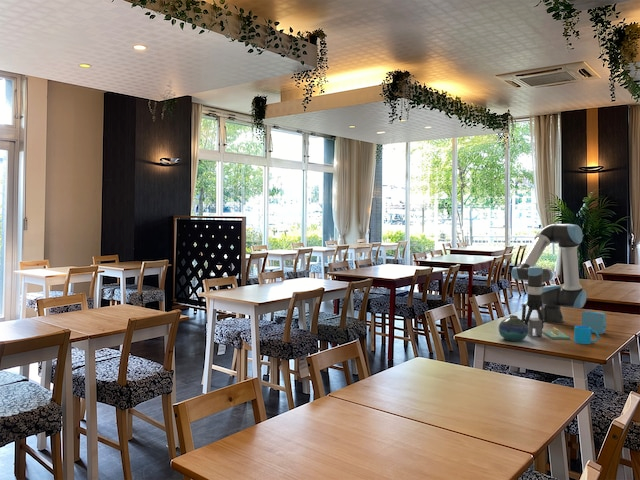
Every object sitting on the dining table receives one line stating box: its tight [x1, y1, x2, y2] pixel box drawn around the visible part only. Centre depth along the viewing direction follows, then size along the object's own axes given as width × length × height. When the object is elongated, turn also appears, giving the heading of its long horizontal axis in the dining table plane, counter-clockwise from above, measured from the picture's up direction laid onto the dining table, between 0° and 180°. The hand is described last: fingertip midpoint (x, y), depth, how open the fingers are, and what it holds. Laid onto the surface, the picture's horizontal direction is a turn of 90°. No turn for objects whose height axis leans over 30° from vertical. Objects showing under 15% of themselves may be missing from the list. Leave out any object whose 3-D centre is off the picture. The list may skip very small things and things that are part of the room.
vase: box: [497, 314, 528, 342], centre depth 273 cm, size 15×15×13 cm
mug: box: [573, 325, 600, 345], centre depth 268 cm, size 12×8×8 cm
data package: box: [580, 310, 607, 335], centre depth 293 cm, size 12×4×12 cm, turn 41°
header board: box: [542, 327, 571, 340], centre depth 283 cm, size 16×10×4 cm, turn 174°
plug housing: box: [527, 316, 543, 337], centre depth 284 cm, size 9×6×9 cm, turn 174°
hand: (533, 333), depth 284 cm, fingers closed on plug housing, 6 cm apart
